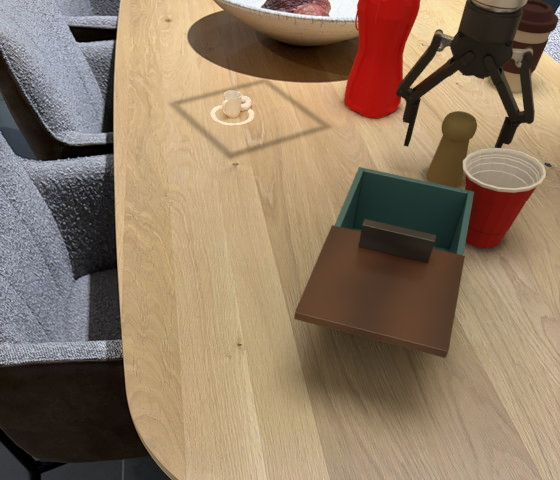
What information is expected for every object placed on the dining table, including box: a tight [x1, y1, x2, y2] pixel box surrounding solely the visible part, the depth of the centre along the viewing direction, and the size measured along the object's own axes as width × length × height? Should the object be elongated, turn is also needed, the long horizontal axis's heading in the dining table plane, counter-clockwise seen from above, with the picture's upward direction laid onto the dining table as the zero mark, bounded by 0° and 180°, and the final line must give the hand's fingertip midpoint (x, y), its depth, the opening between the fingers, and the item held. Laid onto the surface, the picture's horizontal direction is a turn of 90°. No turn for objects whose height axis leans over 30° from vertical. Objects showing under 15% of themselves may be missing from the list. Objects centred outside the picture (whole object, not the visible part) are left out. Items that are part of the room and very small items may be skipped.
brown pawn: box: [425, 110, 478, 188], centre depth 94 cm, size 6×6×11 cm
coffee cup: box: [489, 0, 559, 94], centre depth 117 cm, size 10×10×15 cm
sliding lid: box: [293, 219, 466, 359], centre depth 64 cm, size 16×16×4 cm
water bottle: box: [344, 0, 421, 119], centre depth 104 cm, size 9×11×25 cm
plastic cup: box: [463, 147, 547, 250], centre depth 85 cm, size 11×11×12 cm
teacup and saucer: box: [209, 90, 256, 127], centre depth 107 cm, size 9×8×4 cm
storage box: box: [333, 166, 474, 255], centre depth 79 cm, size 16×16×10 cm
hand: (449, 151), depth 95 cm, fingers open, 13 cm apart
